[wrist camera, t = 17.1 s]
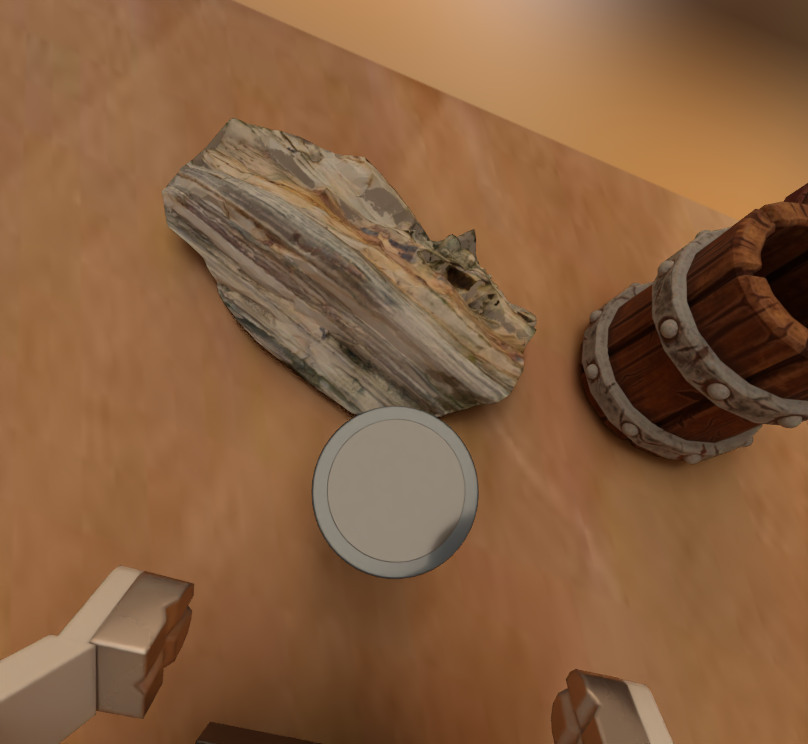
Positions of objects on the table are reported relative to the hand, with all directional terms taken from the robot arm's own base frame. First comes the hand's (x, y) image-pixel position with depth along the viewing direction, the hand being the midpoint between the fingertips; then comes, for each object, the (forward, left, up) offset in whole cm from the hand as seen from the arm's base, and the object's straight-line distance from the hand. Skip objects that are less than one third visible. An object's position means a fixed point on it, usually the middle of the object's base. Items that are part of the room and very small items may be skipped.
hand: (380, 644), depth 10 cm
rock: (+17, -7, -15) cm, 24 cm away
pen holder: (+4, -3, -14) cm, 15 cm away
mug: (+5, -24, -15) cm, 29 cm away
